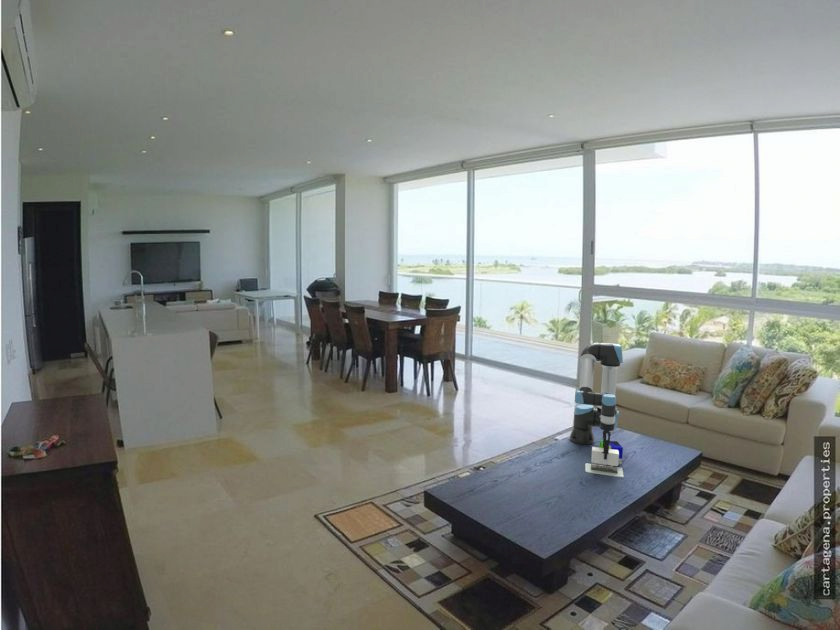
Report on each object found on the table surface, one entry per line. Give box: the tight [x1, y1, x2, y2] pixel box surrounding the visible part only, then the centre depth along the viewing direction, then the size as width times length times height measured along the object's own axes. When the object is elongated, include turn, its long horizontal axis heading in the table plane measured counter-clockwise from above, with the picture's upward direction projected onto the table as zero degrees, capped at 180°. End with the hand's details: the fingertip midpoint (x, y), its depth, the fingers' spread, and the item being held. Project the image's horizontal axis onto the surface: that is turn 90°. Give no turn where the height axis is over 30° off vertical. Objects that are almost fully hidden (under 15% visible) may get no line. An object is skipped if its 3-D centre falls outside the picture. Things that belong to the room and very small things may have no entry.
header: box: [584, 462, 625, 479], centre depth 294 cm, size 12×20×7 cm, turn 73°
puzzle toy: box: [599, 440, 624, 465], centre depth 308 cm, size 10×10×10 cm
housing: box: [590, 446, 619, 467], centre depth 293 cm, size 14×6×7 cm, turn 73°
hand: (604, 461), depth 294 cm, fingers closed on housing, 6 cm apart
